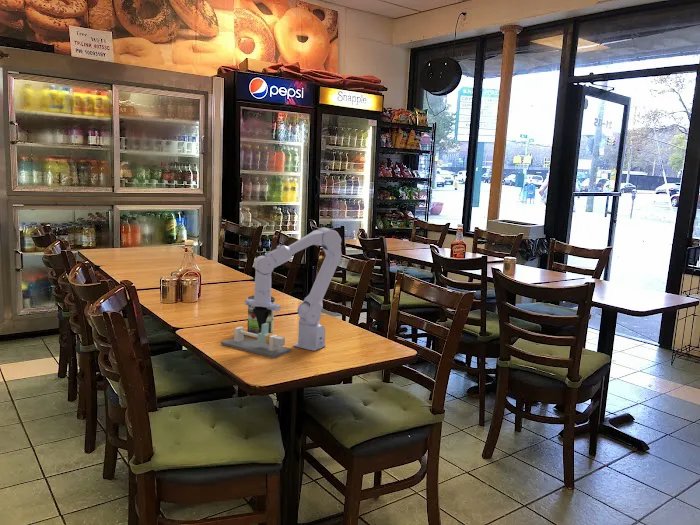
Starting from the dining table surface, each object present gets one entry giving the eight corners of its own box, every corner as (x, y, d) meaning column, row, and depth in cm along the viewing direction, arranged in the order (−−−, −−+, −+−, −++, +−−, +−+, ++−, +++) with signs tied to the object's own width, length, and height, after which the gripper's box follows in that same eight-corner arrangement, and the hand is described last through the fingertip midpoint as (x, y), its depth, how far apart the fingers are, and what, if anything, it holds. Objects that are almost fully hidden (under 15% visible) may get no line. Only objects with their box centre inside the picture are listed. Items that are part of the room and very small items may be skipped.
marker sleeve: (271, 342, 198) (272, 324, 197) (266, 343, 195) (266, 325, 194) (262, 339, 200) (263, 322, 199) (257, 341, 197) (258, 323, 196)
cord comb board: (291, 351, 198) (291, 333, 197) (273, 358, 190) (274, 339, 189) (239, 338, 210) (240, 321, 209) (220, 344, 202) (221, 327, 201)
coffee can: (263, 338, 212) (264, 302, 210) (241, 333, 217) (242, 298, 215) (278, 332, 221) (280, 297, 219) (257, 327, 226) (258, 293, 224)
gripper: (239, 288, 196) (238, 326, 198) (272, 295, 189) (270, 333, 191) (252, 285, 202) (251, 322, 204) (284, 292, 195) (283, 329, 197)
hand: (261, 327), depth 198 cm, fingers closed
